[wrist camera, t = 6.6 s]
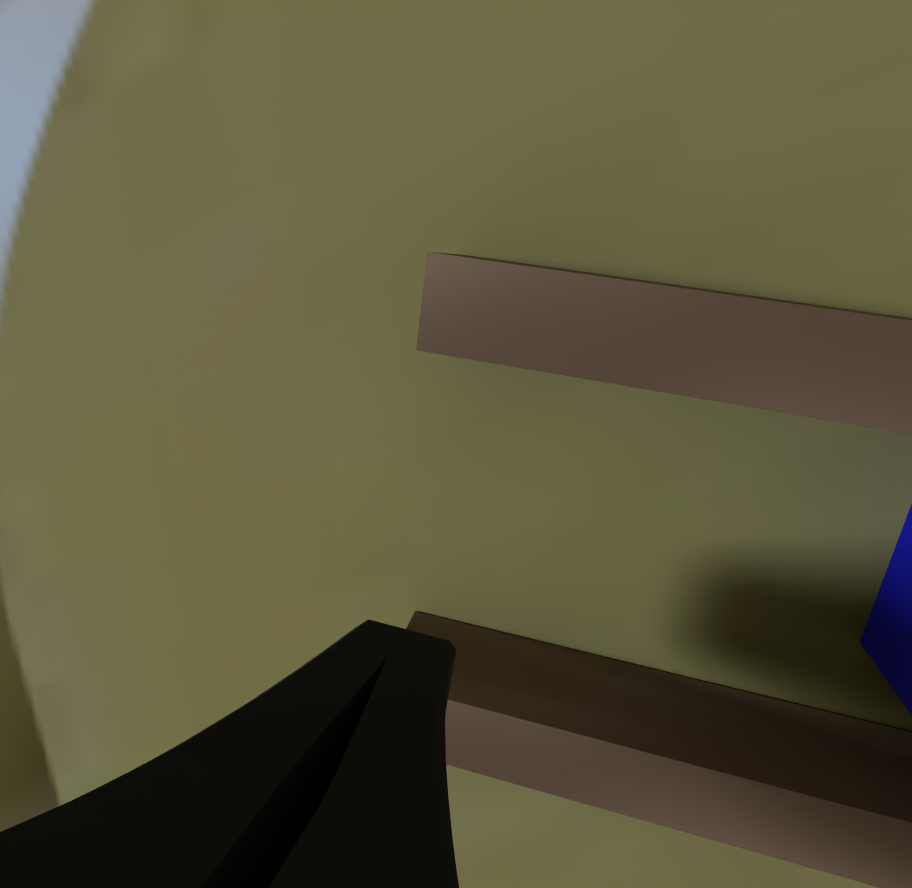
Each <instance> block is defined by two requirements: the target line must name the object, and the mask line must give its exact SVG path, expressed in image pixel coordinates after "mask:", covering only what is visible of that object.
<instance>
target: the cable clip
mask: <svg viewBox="0 0 912 888" xmlns="http://www.w3.org/2000/svg"><path fill="white" fill-rule="evenodd" d="M860 643H861V644H862V646H863V647H864V649H865V650H866V651H867V653H868V654H869V656H870V657H871V658H872V660H873V661H874V663H875V664H876V665H877V667H878V668H879V670H880V671H881V672H882V674H883V675H884V677H885V678H886V679H887V681H888V682H889V684H890V685H891V686H892V688H893V689H894V691H895V692H896V693H897V695H898V696H899V698H900V699H901V700H902V702H903V703H904V705H905V706H906V707H907V709H908V710H909V712H910V713H911V714H912V505H911V507H910V510H909V513H908V515H907V518H906V521H905V523H904V526H903V528H902V531H901V534H900V536H899V539H898V542H897V544H896V547H895V550H894V552H893V555H892V558H891V560H890V563H889V566H888V568H887V571H886V574H885V576H884V579H883V581H882V584H881V587H880V589H879V592H878V595H877V597H876V600H875V603H874V605H873V608H872V611H871V613H870V616H869V619H868V621H867V624H866V626H865V629H864V632H863V634H862V637H861V640H860Z"/></svg>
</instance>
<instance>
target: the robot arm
mask: <svg viewBox="0 0 912 888" xmlns="http://www.w3.org/2000/svg"><path fill="white" fill-rule="evenodd" d="M455 655H456V649H455V647H454V646H453V644H452V643H451V641H449V640H445V639H441V638H437V637H434V636H430V635H426V634H422V633H418V632H414V631H411V630H407V629H403V628H399V627H395V626H391V625H388V624H384V623H380V622H376V621H372V620H367V621H365V622H364V623H362V624H360V625H359V626H357V627H356V628H355V629H353V630H352V631H350V632H349V633H348V634H346V635H345V636H344V637H342V638H341V639H339V640H338V641H337V642H335V643H334V644H333V645H331V646H330V647H328V648H327V649H326V650H324V651H323V652H322V653H320V654H319V655H317V656H316V657H315V658H313V659H312V660H310V661H309V662H307V663H306V664H305V665H303V666H302V667H300V668H299V669H298V670H296V671H295V672H293V673H292V674H290V675H289V676H287V677H286V678H284V679H283V680H281V681H280V682H278V683H277V684H275V685H274V686H272V687H271V688H269V689H268V690H266V691H265V692H263V693H262V694H260V695H259V696H258V697H256V698H255V699H253V700H251V701H250V702H248V703H247V704H245V705H244V706H242V707H241V708H239V709H237V710H236V711H234V712H232V713H231V714H229V715H227V716H226V717H224V718H222V719H221V720H219V721H217V722H216V723H214V724H212V725H211V726H209V727H208V728H206V729H204V730H203V731H201V732H199V733H198V734H196V735H194V736H193V737H191V738H189V739H188V740H186V741H184V742H183V743H181V744H179V745H177V746H176V747H174V748H172V749H170V750H168V751H167V752H165V753H163V754H161V755H160V756H158V757H156V758H154V759H152V760H151V761H149V762H147V763H145V764H143V765H141V766H139V767H137V768H136V769H134V770H132V771H130V772H128V773H126V774H124V775H122V776H120V777H118V778H116V779H114V780H112V781H110V782H108V783H106V784H104V785H102V786H101V787H99V788H97V789H95V790H93V791H91V792H89V793H87V794H84V795H82V796H80V797H78V798H76V799H74V800H72V801H70V802H68V803H66V804H63V805H61V806H59V807H56V808H54V809H52V810H50V811H47V812H45V813H43V814H41V815H38V816H36V817H34V818H31V819H29V820H27V821H25V822H22V823H20V824H18V825H16V826H13V827H11V828H9V829H6V830H4V831H2V832H0V888H459V884H458V877H457V870H456V863H455V855H454V847H453V839H452V830H451V820H450V810H449V800H448V787H447V772H446V741H445V714H446V708H447V702H448V696H449V690H450V685H451V679H452V673H453V667H454V661H455Z"/></svg>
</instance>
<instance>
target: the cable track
mask: <svg viewBox="0 0 912 888" xmlns="http://www.w3.org/2000/svg"><path fill="white" fill-rule="evenodd" d="M417 350H419V351H425V352H431V353H436V354H442V355H448V356H454V357H460V358H466V359H472V360H478V361H484V362H489V363H495V364H501V365H507V366H513V367H519V368H525V369H531V370H536V371H542V372H548V373H554V374H560V375H566V376H572V377H578V378H584V379H589V380H595V381H601V382H607V383H613V384H619V385H625V386H631V387H636V388H642V389H648V390H654V391H660V392H666V393H672V394H678V395H684V396H689V397H695V398H701V399H707V400H713V401H719V402H725V403H731V404H737V405H742V406H748V407H754V408H760V409H766V410H772V411H778V412H784V413H789V414H795V415H801V416H807V417H813V418H819V419H825V420H831V421H837V422H842V423H848V424H854V425H860V426H866V427H872V428H878V429H884V430H889V431H895V432H901V433H907V434H912V318H905V317H898V316H891V315H884V314H877V313H869V312H862V311H855V310H848V309H841V308H834V307H827V306H820V305H813V304H806V303H799V302H792V301H785V300H777V299H770V298H763V297H756V296H749V295H742V294H735V293H728V292H721V291H714V290H707V289H700V288H693V287H686V286H678V285H671V284H664V283H657V282H650V281H643V280H636V279H629V278H622V277H615V276H608V275H601V274H594V273H586V272H579V271H572V270H565V269H558V268H551V267H544V266H537V265H530V264H523V263H516V262H509V261H502V260H495V259H487V258H480V257H473V256H466V255H458V254H446V253H435V252H427V261H426V270H425V279H424V287H423V296H422V305H421V314H420V323H419V332H418V341H417ZM406 629H407V630H411V631H414V632H418V633H422V634H426V635H430V636H434V637H437V638H441V639H445V640H449V641H451V643H452V644H453V646H454V647H455V649H456V655H455V661H454V667H453V673H452V679H451V685H450V690H449V696H448V702H447V708H446V714H445V741H446V764H447V765H451V766H454V767H458V768H461V769H465V770H468V771H472V772H475V773H479V774H482V775H486V776H489V777H493V778H496V779H500V780H503V781H507V782H510V783H514V784H517V785H521V786H524V787H528V788H531V789H535V790H539V791H542V792H546V793H549V794H553V795H556V796H560V797H563V798H567V799H570V800H574V801H577V802H581V803H584V804H588V805H591V806H595V807H598V808H602V809H605V810H609V811H612V812H616V813H619V814H623V815H626V816H630V817H634V818H637V819H641V820H644V821H648V822H651V823H655V824H658V825H662V826H665V827H669V828H672V829H676V830H679V831H683V832H686V833H690V834H693V835H697V836H700V837H704V838H707V839H711V840H714V841H718V842H722V843H725V844H729V845H732V846H736V847H739V848H743V849H746V850H750V851H753V852H757V853H760V854H764V855H767V856H771V857H774V858H778V859H781V860H785V861H788V862H792V863H795V864H799V865H802V866H806V867H809V868H813V869H817V870H820V871H824V872H827V873H831V874H834V875H838V876H841V877H845V878H848V879H852V880H855V881H859V882H862V883H866V884H869V885H873V886H876V887H880V888H912V732H908V731H904V730H900V729H896V728H892V727H888V726H884V725H880V724H876V723H871V722H867V721H863V720H859V719H855V718H851V717H847V716H843V715H839V714H835V713H830V712H826V711H822V710H818V709H814V708H810V707H806V706H802V705H798V704H793V703H789V702H785V701H781V700H777V699H773V698H769V697H765V696H761V695H757V694H752V693H748V692H744V691H740V690H736V689H732V688H728V687H724V686H720V685H715V684H711V683H707V682H703V681H699V680H695V679H691V678H687V677H683V676H679V675H674V674H670V673H666V672H662V671H658V670H654V669H650V668H646V667H642V666H637V665H633V664H629V663H625V662H621V661H617V660H613V659H609V658H605V657H601V656H596V655H592V654H588V653H584V652H580V651H576V650H572V649H568V648H564V647H559V646H555V645H551V644H547V643H543V642H539V641H535V640H531V639H527V638H523V637H518V636H514V635H510V634H506V633H502V632H498V631H494V630H490V629H486V628H481V627H477V626H473V625H469V624H465V623H461V622H457V621H453V620H449V619H445V618H440V617H436V616H432V615H428V614H424V613H420V612H416V611H415V613H414V615H413V616H412V618H411V620H410V622H409V624H408V626H407V628H406Z"/></svg>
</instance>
